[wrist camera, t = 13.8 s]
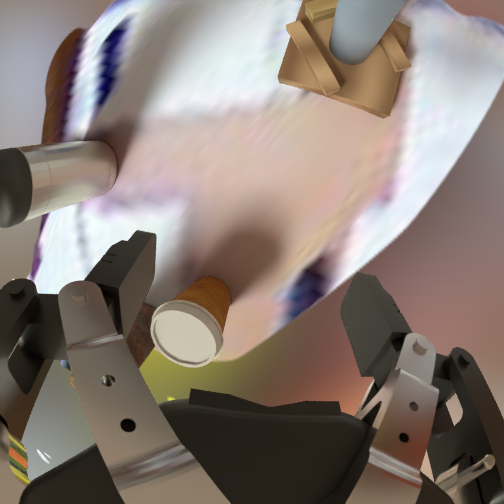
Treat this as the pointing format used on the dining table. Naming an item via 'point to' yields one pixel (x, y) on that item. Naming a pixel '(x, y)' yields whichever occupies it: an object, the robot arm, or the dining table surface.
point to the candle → (138, 337)
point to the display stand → (340, 74)
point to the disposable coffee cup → (192, 323)
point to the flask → (360, 27)
